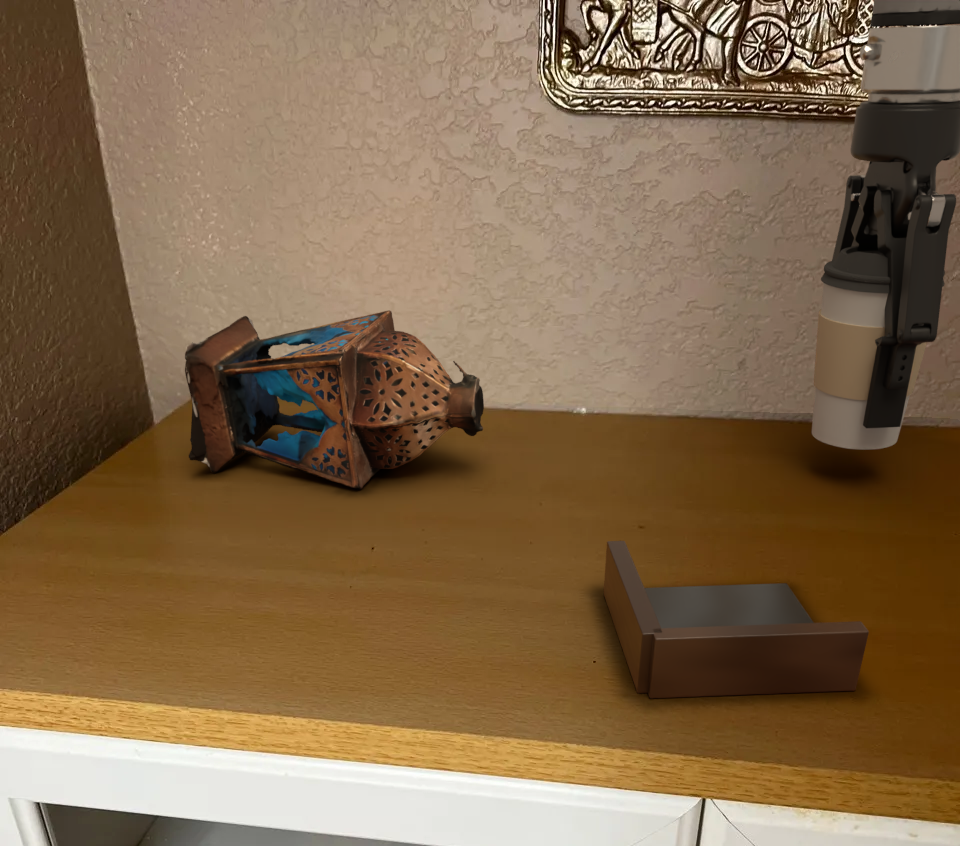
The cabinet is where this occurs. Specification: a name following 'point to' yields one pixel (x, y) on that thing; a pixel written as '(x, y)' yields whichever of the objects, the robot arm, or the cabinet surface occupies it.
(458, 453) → the cabinet surface
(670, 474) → the cabinet surface
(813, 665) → the corner guide
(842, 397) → the coffee cup
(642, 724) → the cabinet surface
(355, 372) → the lantern
